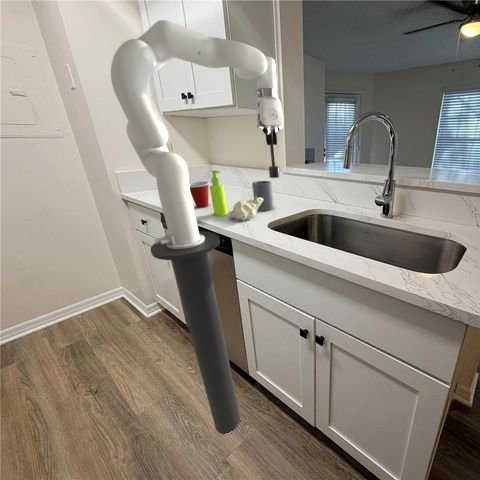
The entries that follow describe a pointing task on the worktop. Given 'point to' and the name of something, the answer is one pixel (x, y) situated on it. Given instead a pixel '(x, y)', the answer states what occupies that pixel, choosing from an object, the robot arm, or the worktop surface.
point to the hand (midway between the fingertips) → (271, 144)
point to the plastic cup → (200, 193)
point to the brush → (273, 161)
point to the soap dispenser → (218, 195)
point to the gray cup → (263, 194)
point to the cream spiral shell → (245, 209)
